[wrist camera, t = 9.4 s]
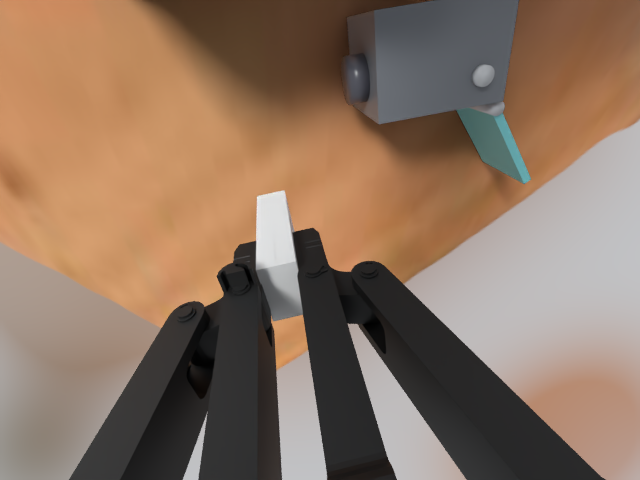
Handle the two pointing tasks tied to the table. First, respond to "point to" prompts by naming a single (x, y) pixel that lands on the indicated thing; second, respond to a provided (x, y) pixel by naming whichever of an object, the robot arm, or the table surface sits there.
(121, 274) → the table surface
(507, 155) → the teal flat slab
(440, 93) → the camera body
